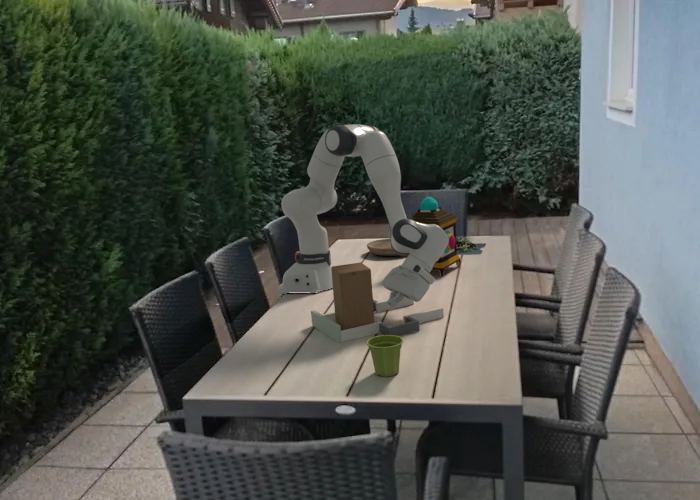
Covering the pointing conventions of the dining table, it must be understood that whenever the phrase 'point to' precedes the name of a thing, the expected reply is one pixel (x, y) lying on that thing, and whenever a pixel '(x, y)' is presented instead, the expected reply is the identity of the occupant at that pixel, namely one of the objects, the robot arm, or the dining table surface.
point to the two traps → (398, 326)
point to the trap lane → (334, 330)
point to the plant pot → (385, 354)
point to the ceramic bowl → (381, 247)
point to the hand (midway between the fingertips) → (390, 304)
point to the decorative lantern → (447, 222)
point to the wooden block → (352, 295)
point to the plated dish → (468, 247)
